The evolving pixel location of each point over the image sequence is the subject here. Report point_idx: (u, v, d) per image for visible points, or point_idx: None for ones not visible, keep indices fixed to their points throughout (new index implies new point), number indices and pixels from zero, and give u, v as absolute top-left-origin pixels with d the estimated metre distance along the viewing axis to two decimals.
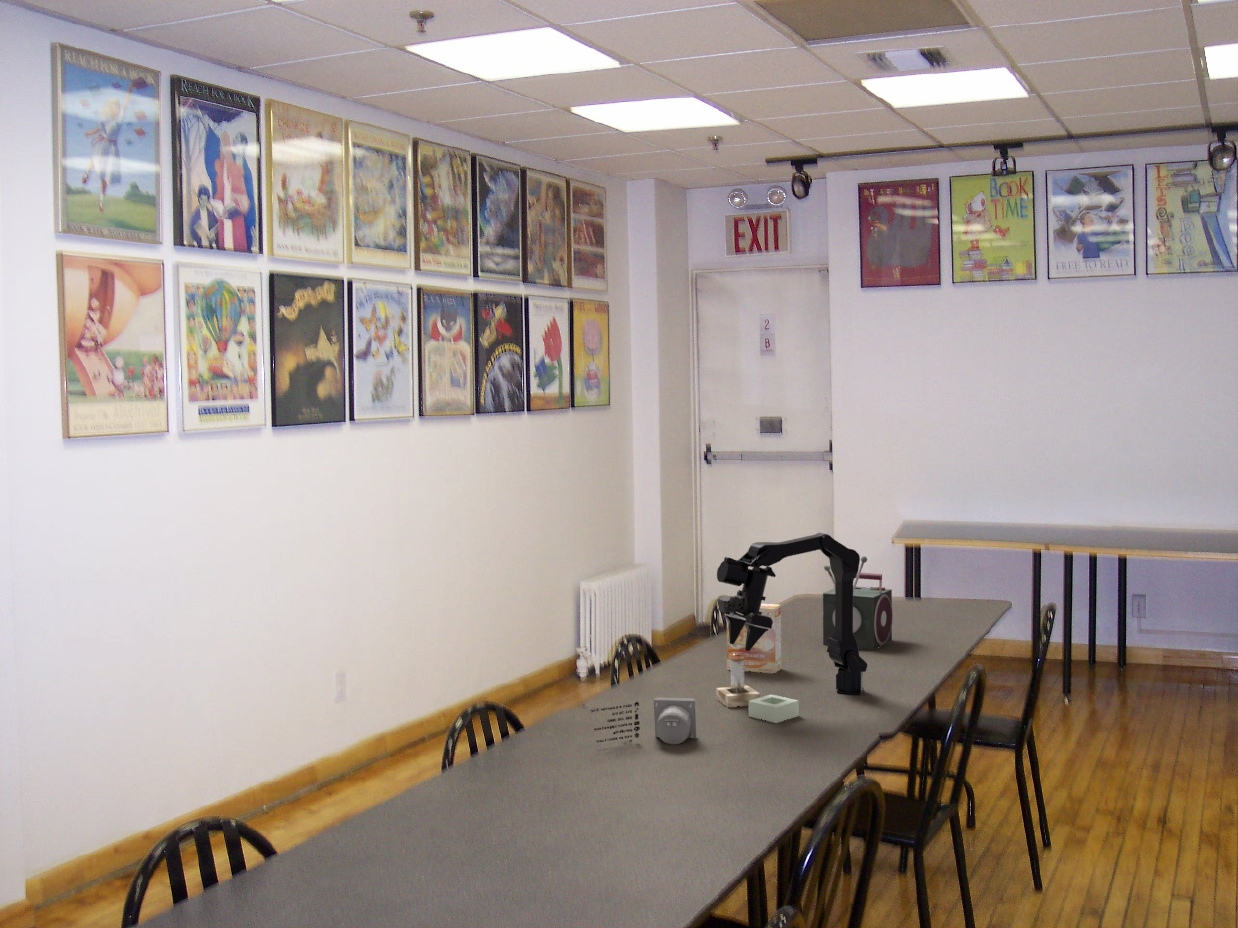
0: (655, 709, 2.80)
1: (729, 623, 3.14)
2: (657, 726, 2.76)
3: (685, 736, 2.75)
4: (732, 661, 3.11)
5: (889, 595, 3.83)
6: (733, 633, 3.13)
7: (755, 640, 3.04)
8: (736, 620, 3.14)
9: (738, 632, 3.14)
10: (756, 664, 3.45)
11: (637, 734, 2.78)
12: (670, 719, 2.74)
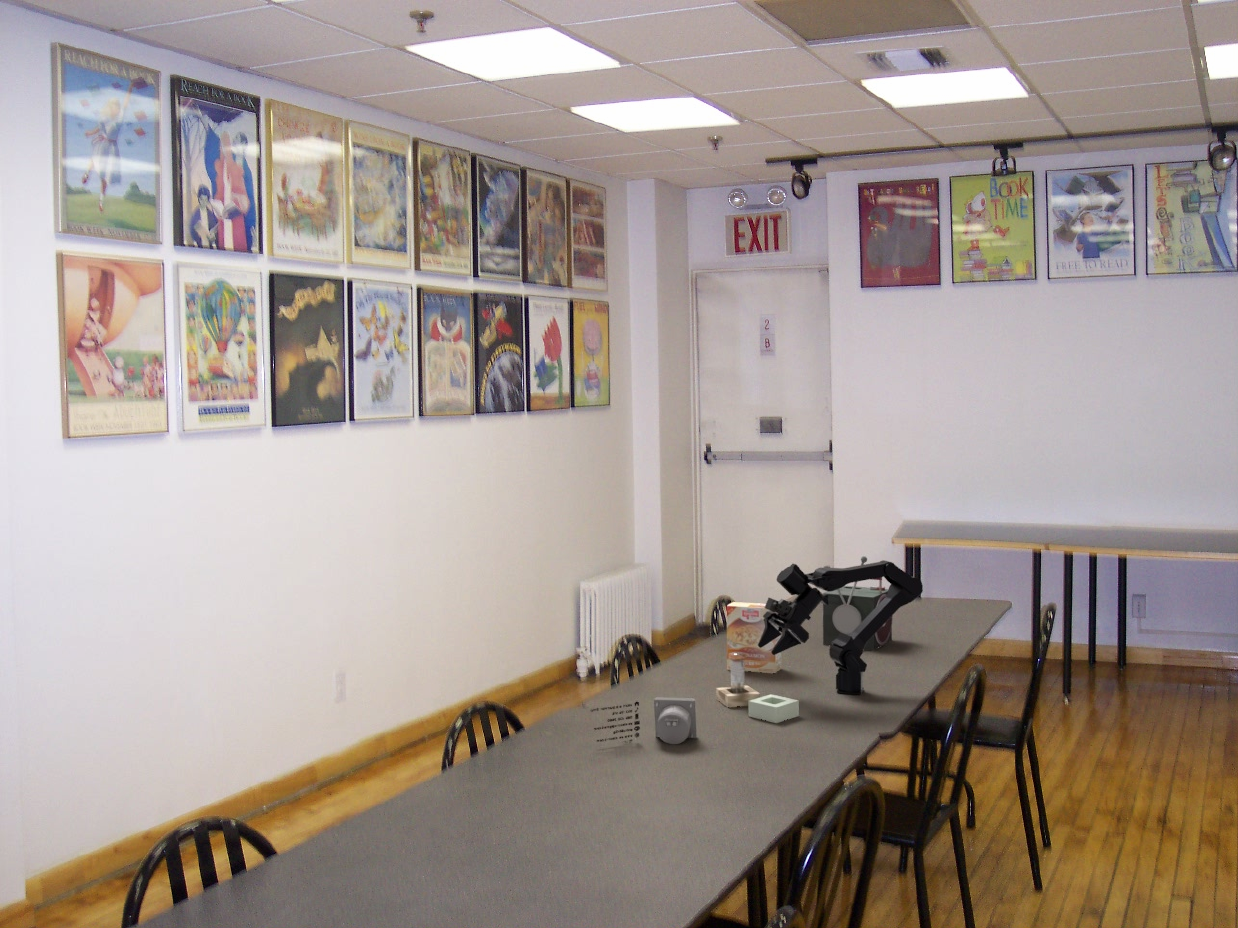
0: (655, 709, 2.80)
1: (765, 628, 3.20)
2: (657, 726, 2.76)
3: (685, 736, 2.75)
4: (732, 661, 3.11)
5: None
6: (765, 638, 3.19)
7: (784, 648, 3.09)
8: (773, 628, 3.20)
9: (769, 640, 3.19)
10: (756, 664, 3.45)
11: (637, 734, 2.78)
12: (670, 719, 2.74)
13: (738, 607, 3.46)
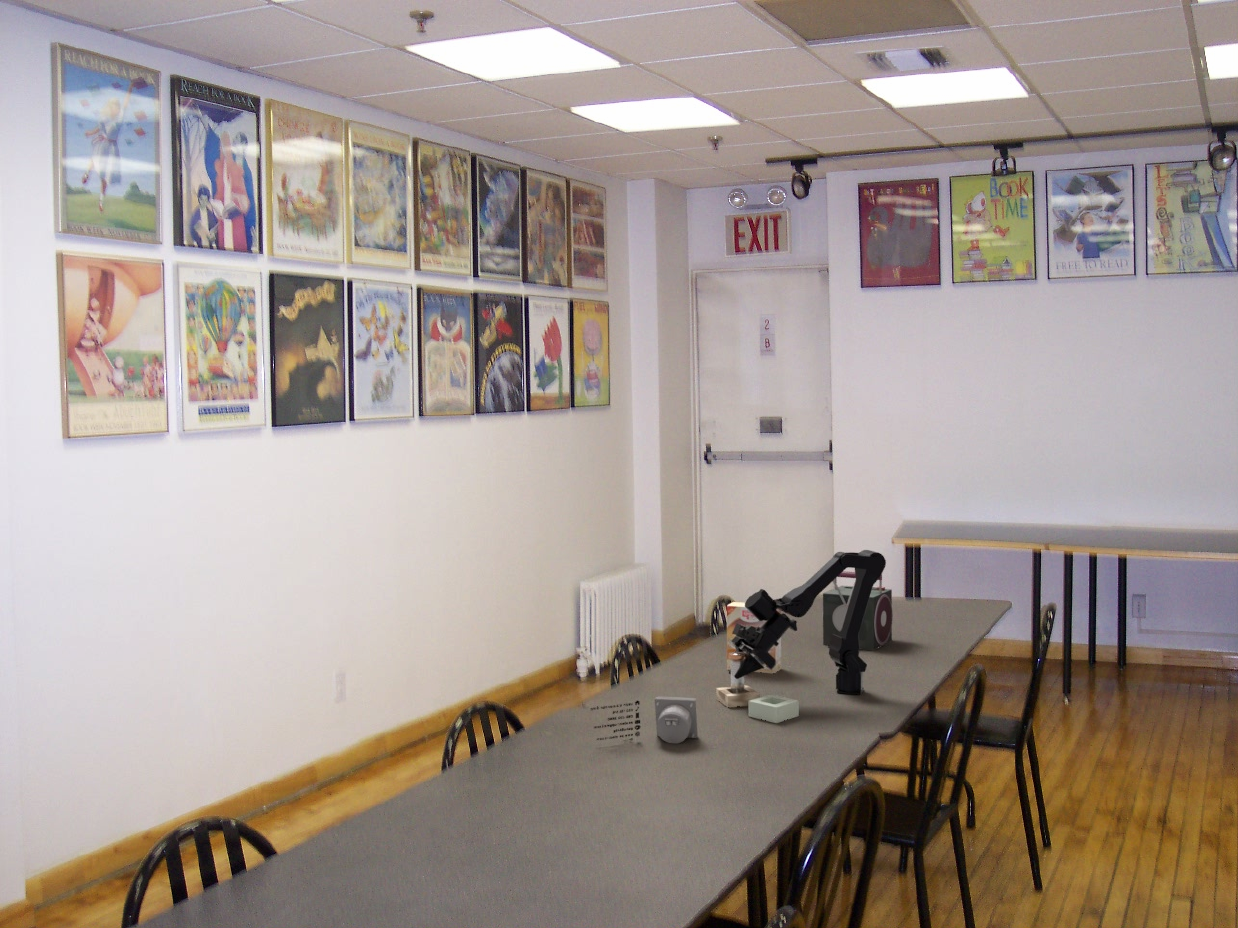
0: (656, 708, 2.81)
1: None
2: (657, 725, 2.76)
3: (685, 735, 2.76)
4: (732, 661, 3.11)
5: (889, 595, 3.83)
6: None
7: (747, 672, 3.10)
8: None
9: None
10: None
11: (638, 733, 2.79)
12: (670, 718, 2.74)
13: (738, 607, 3.46)
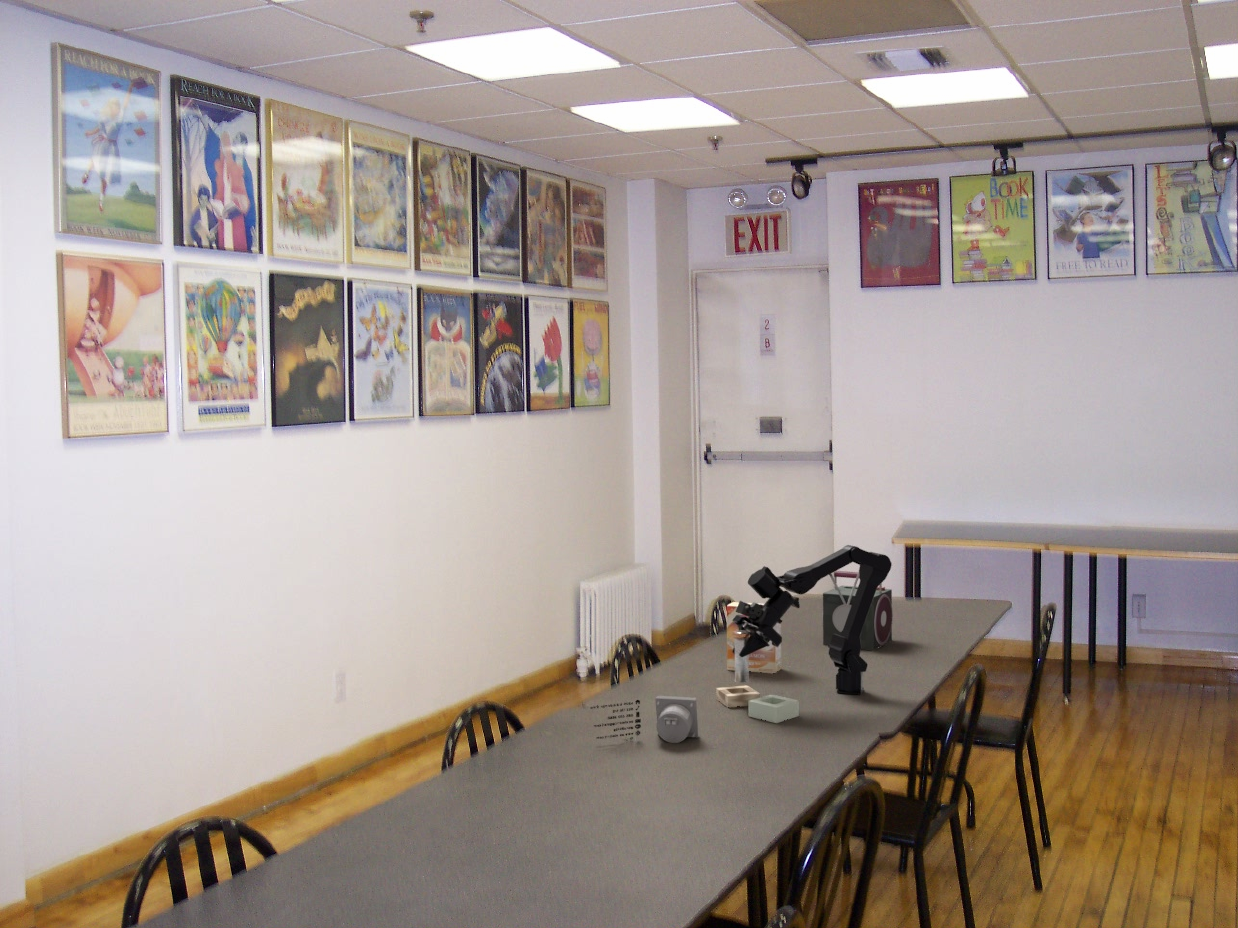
0: (657, 708, 2.81)
1: None
2: (657, 724, 2.77)
3: (685, 735, 2.76)
4: (736, 639, 3.08)
5: (889, 595, 3.83)
6: None
7: (752, 650, 3.07)
8: None
9: None
10: (756, 664, 3.45)
11: (638, 732, 2.80)
12: (669, 718, 2.75)
13: None
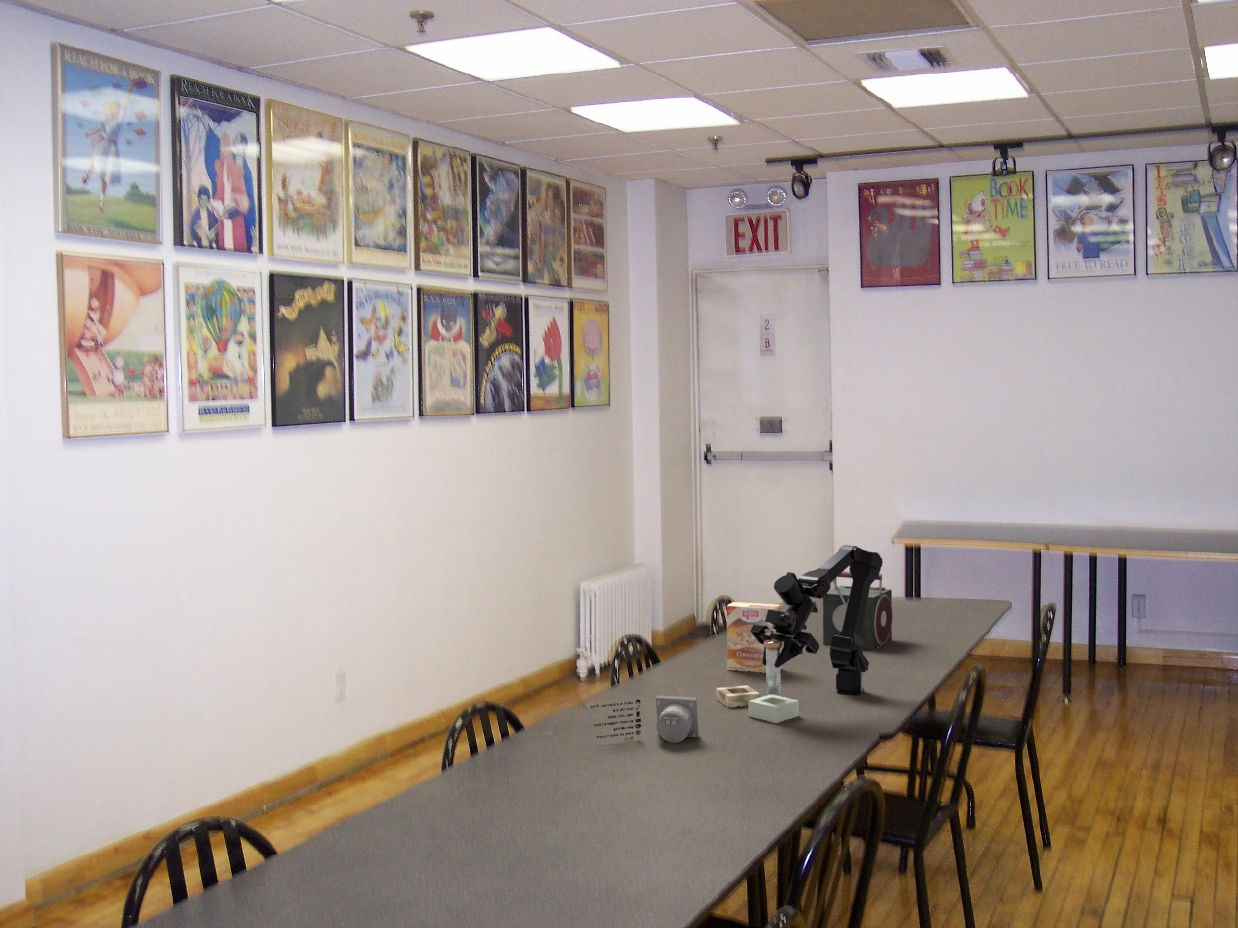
0: (657, 707, 2.82)
1: None
2: (657, 724, 2.77)
3: (685, 735, 2.76)
4: (770, 650, 2.96)
5: (889, 595, 3.83)
6: None
7: (787, 659, 2.96)
8: None
9: None
10: (756, 664, 3.45)
11: (638, 731, 2.80)
12: (669, 717, 2.75)
13: (738, 607, 3.46)
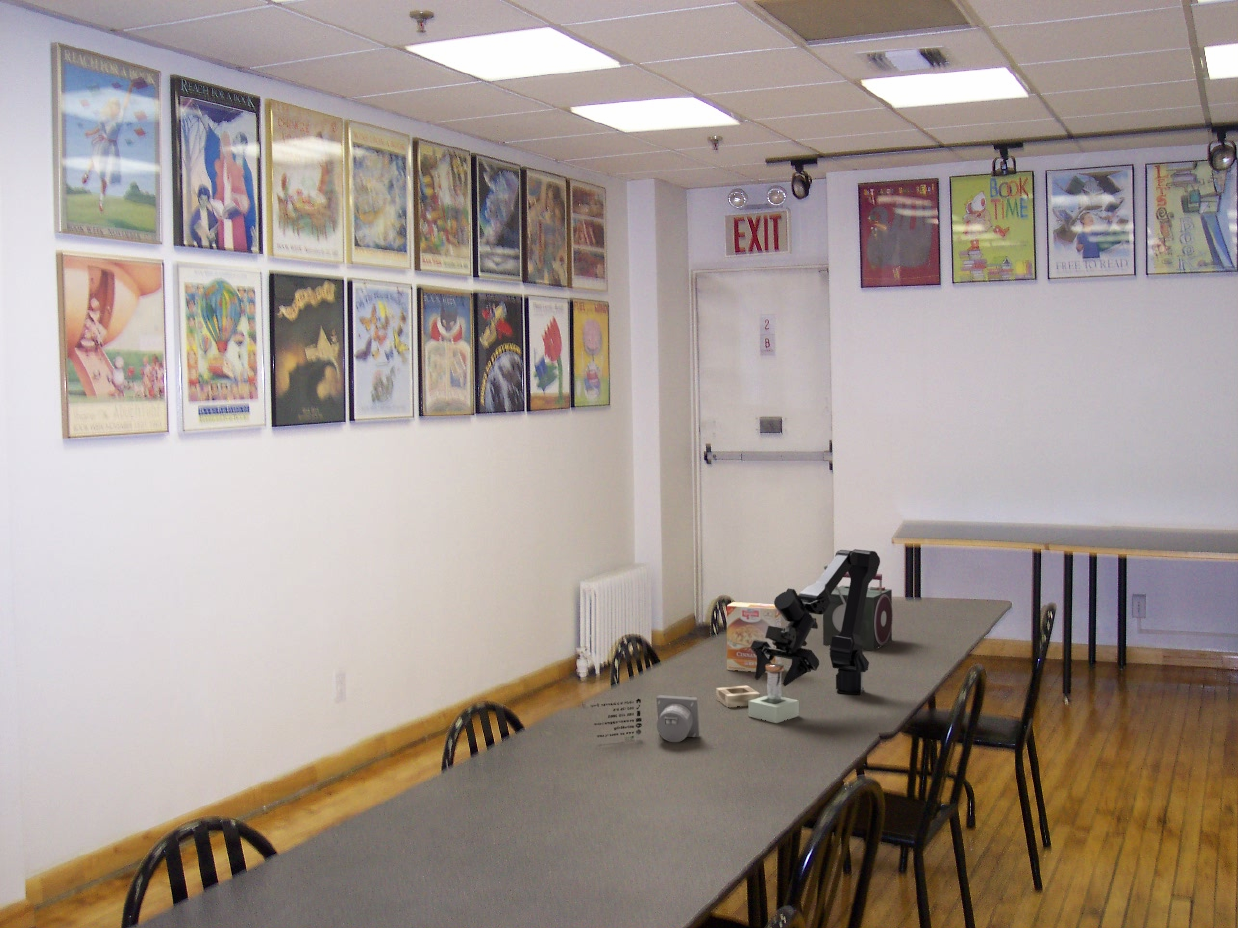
0: (658, 707, 2.82)
1: (759, 658, 3.02)
2: (657, 723, 2.78)
3: (685, 734, 2.76)
4: (772, 673, 2.96)
5: (889, 595, 3.83)
6: (760, 669, 3.01)
7: (794, 677, 2.95)
8: (765, 658, 3.03)
9: (764, 670, 3.02)
10: (756, 664, 3.45)
11: (639, 731, 2.81)
12: (669, 717, 2.75)
13: (738, 607, 3.46)
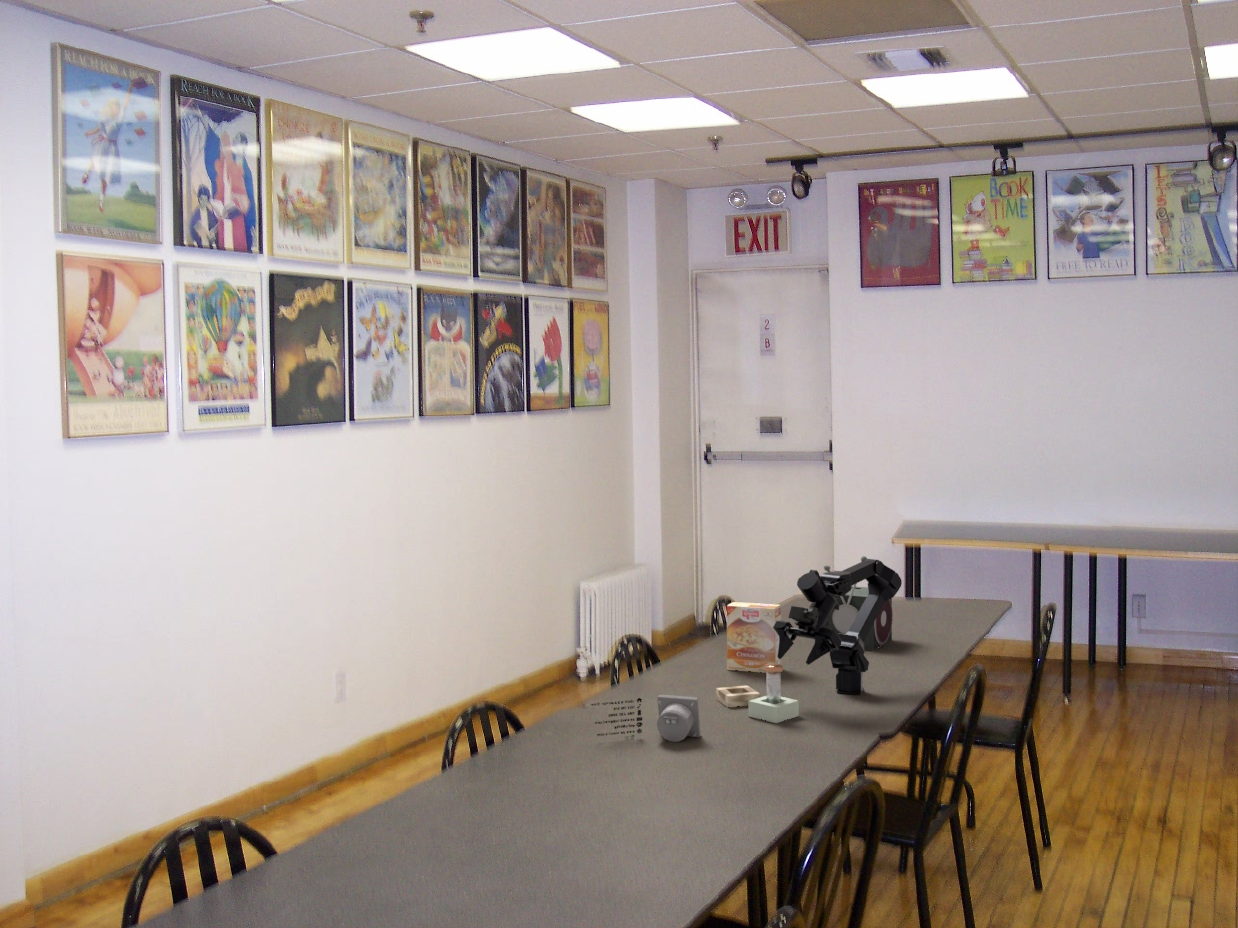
0: (659, 706, 2.83)
1: (781, 638, 3.09)
2: (658, 723, 2.78)
3: (685, 734, 2.77)
4: (771, 674, 2.96)
5: None
6: (783, 648, 3.08)
7: (817, 656, 3.01)
8: (787, 638, 3.10)
9: (786, 650, 3.09)
10: (756, 664, 3.45)
11: (640, 730, 2.81)
12: (669, 716, 2.76)
13: (738, 607, 3.46)
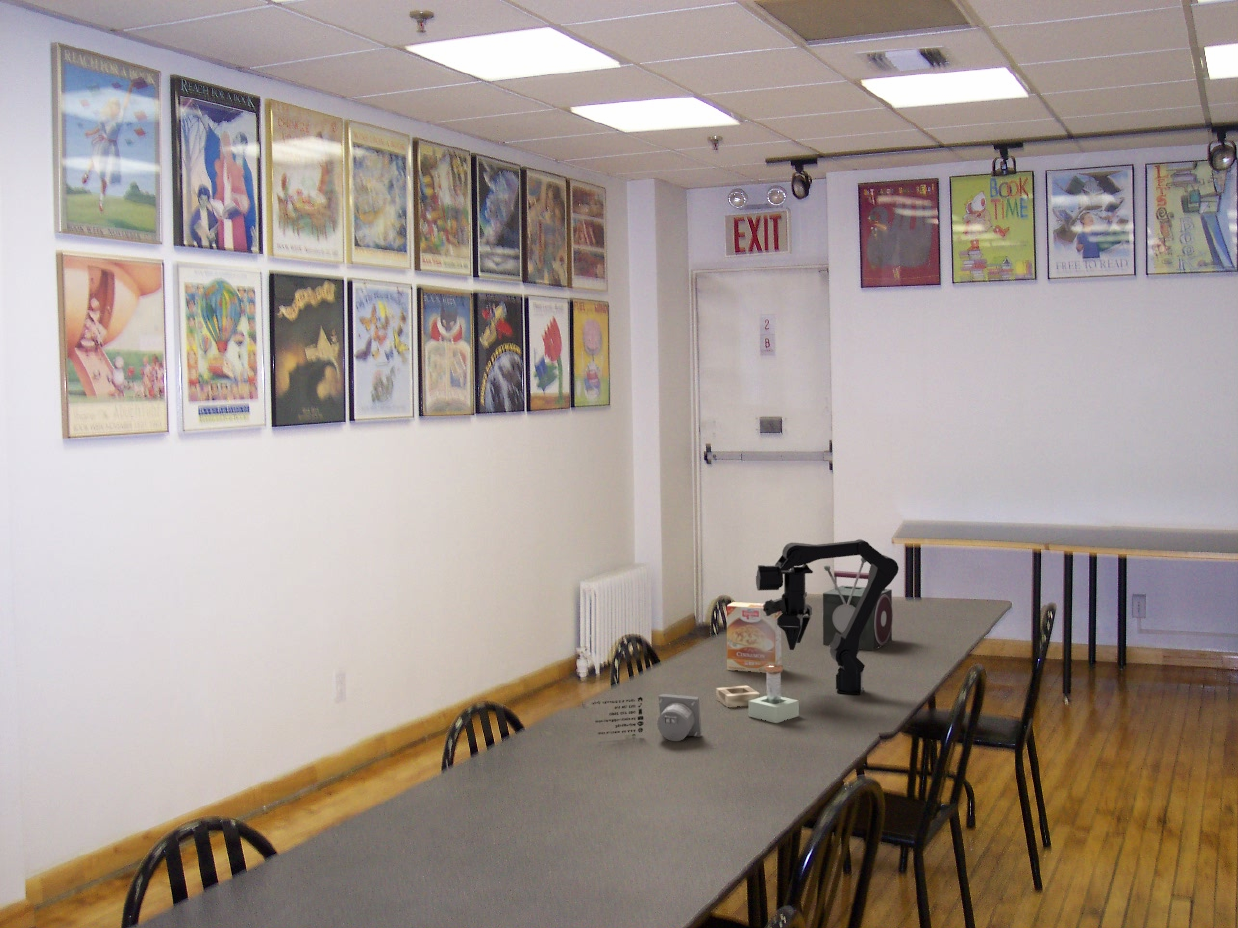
0: (660, 706, 2.83)
1: None
2: (658, 722, 2.79)
3: (685, 734, 2.77)
4: (771, 674, 2.96)
5: (889, 595, 3.83)
6: None
7: (794, 639, 3.14)
8: None
9: (802, 630, 3.24)
10: (756, 664, 3.45)
11: (641, 729, 2.82)
12: (669, 716, 2.76)
13: (738, 607, 3.46)
